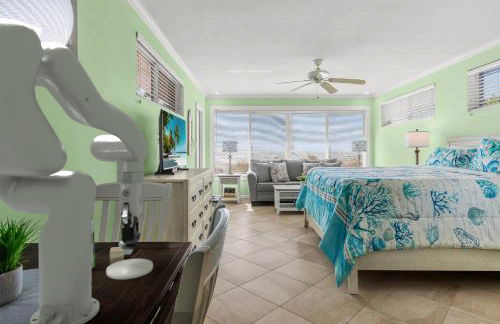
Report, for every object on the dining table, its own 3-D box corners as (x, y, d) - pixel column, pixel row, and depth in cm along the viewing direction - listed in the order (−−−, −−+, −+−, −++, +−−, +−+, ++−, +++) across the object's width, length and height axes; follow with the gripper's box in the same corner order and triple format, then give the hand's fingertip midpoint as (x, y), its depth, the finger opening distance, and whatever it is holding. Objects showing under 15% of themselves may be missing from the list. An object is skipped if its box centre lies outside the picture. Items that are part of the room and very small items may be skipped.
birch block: (123, 262, 94) (123, 250, 94) (109, 264, 93) (109, 251, 93) (123, 258, 98) (123, 246, 98) (110, 259, 97) (110, 247, 96)
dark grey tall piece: (134, 250, 84) (134, 209, 84) (115, 249, 85) (115, 208, 85) (144, 244, 90) (144, 205, 90) (127, 243, 91) (127, 205, 91)
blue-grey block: (130, 254, 102) (130, 243, 102) (118, 255, 101) (118, 243, 101) (133, 250, 106) (133, 239, 106) (121, 251, 105) (121, 240, 105)
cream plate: (149, 277, 83) (149, 273, 82) (100, 280, 80) (100, 276, 80) (155, 261, 95) (155, 257, 95) (113, 263, 93) (113, 259, 93)
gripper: (137, 180, 79) (138, 245, 80) (148, 175, 96) (148, 229, 97) (108, 180, 78) (109, 247, 79) (124, 175, 95) (124, 230, 95)
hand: (130, 236), depth 88 cm, fingers closed on dark grey tall piece, 5 cm apart
